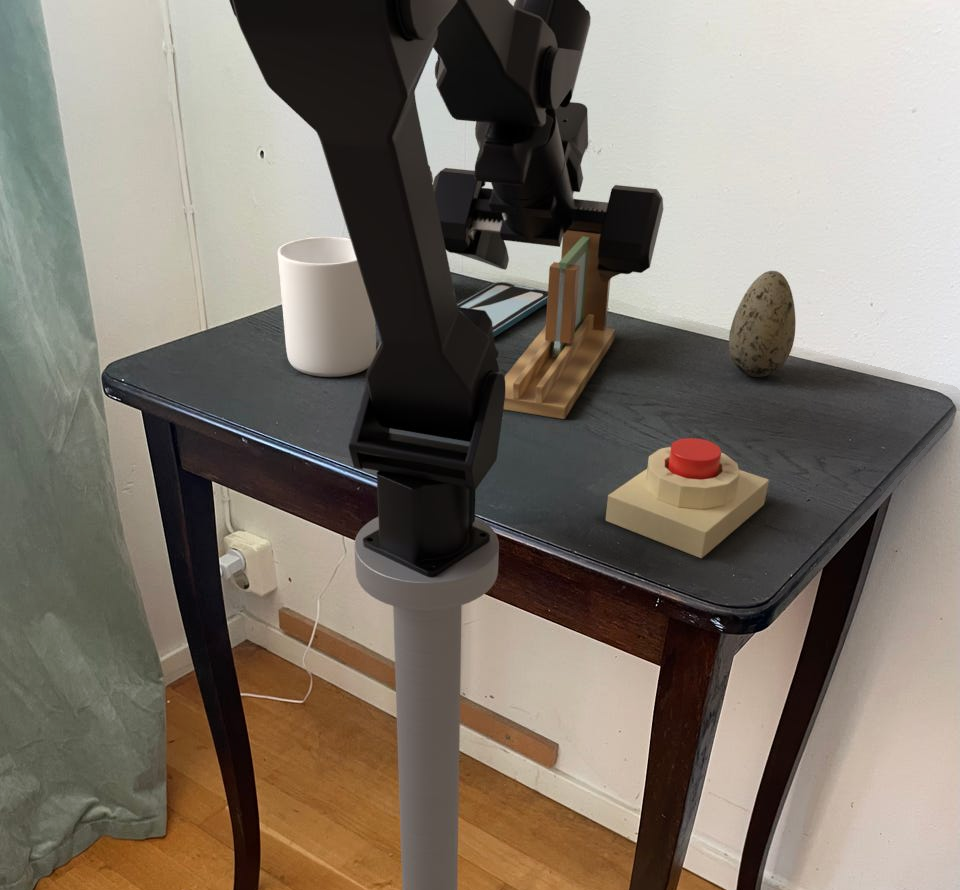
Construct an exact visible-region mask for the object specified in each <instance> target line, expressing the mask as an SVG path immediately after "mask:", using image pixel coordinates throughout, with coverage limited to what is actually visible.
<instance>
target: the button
mask: <svg viewBox="0 0 960 890" xmlns="http://www.w3.org/2000/svg"><path fill="white" fill-rule="evenodd" d="M670 447H671V450H670V457H669V464H668V470H669V471H670V472H672V473H673V474H676V475H678V476H681V477H684V478H687V479H699V480H704V479H709V478H715V477H716V476H717V474H718V469H719V463H720V458H721V453H722V450H721V448H720V446H718V445H717V444H715V443H714V442H713V441H709V440H706V439H702V438H695V437H687V438H681V439H678V440H677V439H676V440H675V441H673V442H672V443H671V445H670Z"/></svg>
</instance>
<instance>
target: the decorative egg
mask: <svg viewBox="0 0 960 890" xmlns="http://www.w3.org/2000/svg"><path fill="white" fill-rule="evenodd" d="M796 321H797V320H796V307H795V302H794V297H793V292H792V289H791V286H790V284H789V281H788V280H787V279H786V277H785V276H784V275H783V274H782V273H781V272H780V271H777V270H768V271H765V272H763V273H762V274H760V275H759V276H758V277H757V278H756V279H755V280H754V281H753V282H752V283H751V284H750V286H749V287H748V288H747V290H746V292H745V293H744V294H743V297H742V299H741V301H740V302H739V305H738V307H737V309H736V311H735V314H734V316H733V319H732V322H731V326H730V330H729V336H728V348H729V350H728V351H729V355H730V358H731V360H732V362H733V363H734V365H735V367H736V368H737V370H739V371H740V372H741V373H743V374H745V375H747V376H749V377H755V378H762V377H763V378H764V377H767V376H770V375H771V374H773V373H775V372H777V371H778V370H779V369H780V368H782V366H783V365H784V364H785V362H786V361H787V360H788V358H789V356H790V355H791V352H792V349H793V346H794V342H795V336H796V323H797V322H796Z"/></svg>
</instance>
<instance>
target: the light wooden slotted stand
mask: <svg viewBox="0 0 960 890" xmlns="http://www.w3.org/2000/svg"><path fill="white" fill-rule="evenodd" d="M600 235H601V234H594V233H585V232H576V231H568V230H567V231H566V233H564V234H563V237H562V241H561V258H560V261H561V260H562V258H563V257H564V256H565V255H566V254H567V253H568V252H569V251H570V250H571V249H572V247H573V246H574V245H575V244H576V243H577V242H578V241H579V240H580V239H581V238H582V236H584V237H590V246H589V257H588V270H587V282H586V294H585V306H584V318H583V323H582V324H581V326H580V327H579V328H578V330H577V331H576V332H575V334H574V339H573V341H572V342H571V344H568V343H567V345H566V346H565V348H564V349H563V350H562V352H561V353H560V355H559V356H558V357H553V347H554V345H555V342H553V341H546V340H545V333H546V325H545V326H544V327H543V328H542V330H541V331H540V332H539V333H538V334H537V336H536V337H535V338H534V339H533V341H532V342H531V343H530V344H529V345H528V347H527V348H526V349H525V351H524V352H523V353H522V354H521V356H520V357H519V358H518V359H517V361H515V363H514V364H513V365H512V367H511V368H510V369H509V371H508V372H506V374H505V375H504V378H505V386H506V389H505V401H504V408H503V411H509V412H517V413H523V414H530V415H536V416H543V417H549V418H553V419H560V420H565V419H566V418H567V416H568V415H569V413H570V411H571V410H572V408H573V406H574V405H575V403H576V402H577V400H578V399H579V397H580V395H581V394H582V392H583V390H584V389H585V387H586V386H587V384H588V382H589V381H590V379H591V378H592V376H593V375H594V373H595V371H596V370H597V368H598V366H599V365H600V363H601V362H602V360H603V359H604V357H605V355H606V354H607V352H608V350H609V349H610V348H611V346H612V344H613V342H614V341H615V336H616V329H615V328H609V327H607V320H608V310H609V297H610V288H611V287H610V286H611V279H610V280H609V281H608V282H603V281H602V280H601V279H600V277H599V273H598V270H597V268H598V263H599V260H598V249H599V239H600Z"/></svg>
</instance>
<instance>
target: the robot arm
mask: <svg viewBox="0 0 960 890" xmlns="http://www.w3.org/2000/svg"><path fill="white" fill-rule="evenodd" d="M228 1H229V4H230V6H231V10H232V13H233V15H234V17H235V18H236V21H237V23H238V26H239V29H240V31H241V33H242V35H243V37H244V40H245V42H246V43H247V46H248V48H249V50H250V52H251V55H252V56H253V59H254V61H255V63H256V64H257V67H258V69H259V71H260V73H261V76H262V78H263V80H264V82H265V83H266V85H267V86H268V88H269V89H270V90H271V91H272V92H273V93H274V94H275V95H276V96H277V97H278V98H280V99H281V101H283V102H284V103H285V104H286V105H287V106H288V107H289V108H290V109H291V110H292V111H294V112H295V114H297V115H298V116H299V117H300V118H301V119H302V120H303V121H304V122H305V123H306V124H307V125H308V126H310V127H311V128H312V129H313V130H314V131H315V132H316V134H317V136H318V139H319V141H320V145H321V148H322V151H323V154H324V158H325V161H326V164H327V168H328V170H329V171H328V172H329V174H330V177H331V180H332V184H333V188H334V191H335V194H336V197H337V199H338V200H337V201H338V204H339V207H340V210H341V213H342V216H343V220H344V223H345V226H346V230H347V233H348V236H349V239H350V240H351V243H352V246H353V249H354V253H355V256H356V259H357V262H358V266H359V269H360V272H361V275H362V279H363V282H364V285H365V288H366V292H367V295H368V298H369V302H370V305H371V308H372V311H373V315H374V318H375V325H376V328H377V331H378V334H379V336H380V341H379V344H378V346H377V347H376V352H375V355H374V357H373V359H372V361H371V364H370V366H369V367H368V368H367V370H366V373H365V379H366V380H365V384H364V388H363V393H362V396H361V400H360V403H359V407H358V411H357V414H356V418H355V421H354V425H353V429H352V432H351V436H350V439H349V442H348V452H349V454H350V459H351V463H352V465H353V468H354V469H358V470H363V469H365V470H371V471H376V489H377V491H376V493H377V515H378V516H377V517H378V519H379V529H378V530H376V531H375V532H373V533H371V534H369V535H368V536H366V537H364V538H363V546H364V547H365V548H367V549H369V550H372V551H374V552H376V553H378V554H380V555H382V556H384V557H386V558H388V559H390V560H393V561H395V562H397V563H399V564H401V565H403V566H405V567H407V568H409V569H411V570H414V571H416V572H418V573H420V574H422V575H424V576H426V577H436V576H438V575H439V574H441V573H442V572H444V571H445V570H447V569H448V568H450V567H451V566H453V565H454V564H456V563H458V562H459V561H461V560H462V559H464V558H465V557H467V556H468V555H470V554H471V553H473V552H474V551H476V550H477V549H479V548H480V547H482V546H484V545H485V544H487V543H488V542H489V541H490V534H489V533H488V532H486V531H484V530H481V529H479V528H477V527H474V526H473V523H474V521H475V517H476V490H477V489H478V487H479V486H480V485H481V483H482V482H483V480H484V479H485V477H486V476H487V474H488V472H489V471H490V470H491V469H492V467H493V466H494V464H495V463H496V462H497V458H498V452H499V444H500V437H501V428H502V424H503V423H502V422H503V415H504V409H503V408H504V401H505V389H506V386H505V378H504V377H505V374H503V373H502V372H500V369H499V368H500V367H499V363H498V357H499V351H498V349H497V347H496V344H495V337H493V326H492V320H491V319H490V317H489V316H488V314H487V313H486V311H484V310H477V309H470V308H463V307H458V306H457V304H458V302H457V297H456V292H455V288H454V282H453V277H452V272H451V269H450V263H449V259H448V254H447V252H448V253H450V254H456V255H460V256H463V257H466V258H470V259H472V260H476V261H479V262H481V263H484V264H487V265H489V266H492V267H495V268H497V269H501V270H504V271H505V270H507V269H508V265H509V262H510V257H509V252H508V248H507V245H506V242H515V243H524V244H532V245H541V246H549V247H558V248H561V246H562V240H563V234H564V233H566V231H567V230H568V231H576V232H585V233H594V234H601V235H600V239H599V249H598V260H599V263H598V268H597V270H598V273H599V277H600V279H601V280H602V281H603V282H608V281H609V280H610V281H611V280H612V278H613V277H616V276H619V275H630V274H632V273H637V274H642V273H643V272H645V271H646V270H648V269H650V268H651V264H652V260H653V255H654V252H655V247H656V242H657V240H658V239H657V238H658V235H659V230H660V226H661V222H662V217H663V213H664V199H663V198H664V197H663V196H662V195H661V193H660V191H659V190H658V189H657V188H650V187H639V186H632V185H631V186H630V185H622V184H621V185H620V184H614V185H613V187H612V188H611V190H610V194H609V197H608V202H607V201H598V200H590V199H589V200H588V199H579V198H574V193H580V192H581V190H582V185H583V181H584V175H583V170H582V162H583V158H584V155H585V152H586V150H587V149H588V147H589V118H588V107H587V106H586V104H584V103H583V102H582V103H581V102H575V101H574V102H573V101H572V98H573V95H574V91H575V86H576V82H577V78H578V74H579V70H580V66H581V62H582V59H583V54H584V50H585V47H586V43H587V39H588V35H589V31H590V27H591V18H592V17H591V14H590V11H589V10H588V9H586V7H585V5H584V4H583V3H582V2H581V1H580V0H515V1H514V3H513V4H512V3H511V2H510V0H228ZM433 50H434V51H435V52H436V54H437V60H436V61H435V66H434V77H435V80H436V83H435V86H436V88H437V91H438V93H439V95H440V97H441V99H442V102H443V103H444V106H445V108H446V109H447V111H448V113H449V114H450V116H451V118H453V119H455V120H456V121H466V122H475V128H474V131H475V132H474V136H475V139H476V143H477V146H478V153H477V156H476V160H475V163H474V170H471V169H463V168H453V167H452V168H451V167H445V168H443V169H441V170H440V171H439V172H438V173H437V174H436V175H435V176H434V177H433V183H432V179H431V174H430V170H431V169H430V170H429V166H430V164H429V161H428V155H427V150H426V146H425V140H424V136H423V131H422V126H421V121H420V115H419V111H418V106H417V101H416V100H417V99H416V89H417V87H418V84H419V82H420V79H421V77H422V76H423V72H424V70H425V68H426V65H427V63H428V60H429V59H430V55H431V53H432V51H433ZM486 183H490V184H491V186H492V188H489V187H485V186H486ZM505 241H506V242H505ZM390 430H396V431H397V430H398V431H403V432H410V433H415V434H421V435H426V436H432V437H438V438H443V439H450V440H456V441H461V442H468V443H469V446H468V445H464V444H457V443H452V442H447V441H440V440H434V439H429V438H422V437H417V436H411V435H406V434H405V435H404V434H399V433H394V432H390Z"/></svg>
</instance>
